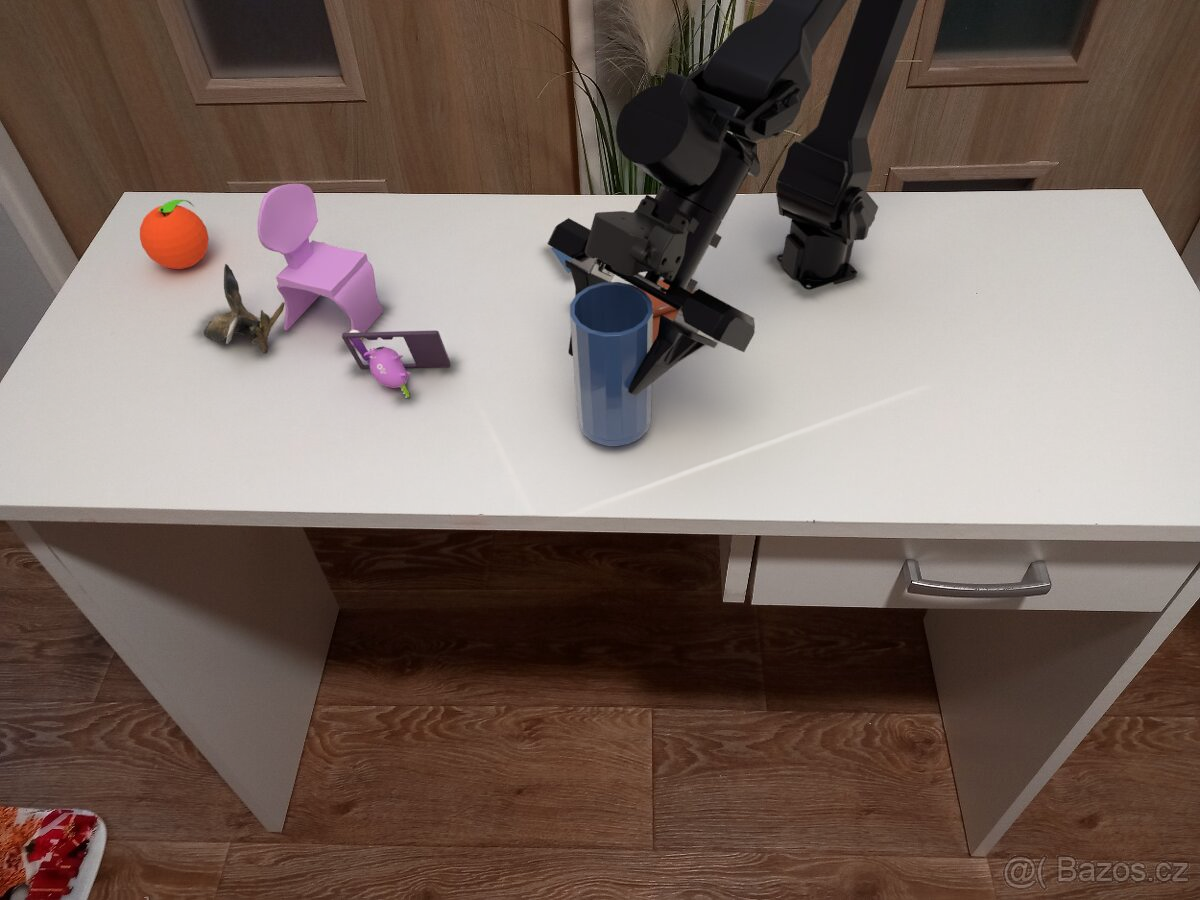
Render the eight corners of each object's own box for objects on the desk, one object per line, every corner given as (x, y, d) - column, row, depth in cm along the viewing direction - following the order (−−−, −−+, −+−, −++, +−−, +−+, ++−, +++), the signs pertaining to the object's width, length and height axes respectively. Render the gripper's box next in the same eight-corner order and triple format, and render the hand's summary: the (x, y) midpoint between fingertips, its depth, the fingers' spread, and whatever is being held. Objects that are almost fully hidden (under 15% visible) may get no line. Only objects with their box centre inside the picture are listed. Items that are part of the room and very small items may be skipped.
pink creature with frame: (438, 323, 84) (342, 325, 84) (435, 373, 82) (337, 375, 82) (451, 357, 90) (361, 359, 90) (448, 404, 88) (357, 406, 88)
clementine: (182, 235, 106) (158, 182, 101) (234, 243, 105) (212, 190, 99) (141, 276, 101) (114, 222, 96) (195, 285, 100) (171, 231, 94)
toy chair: (350, 356, 91) (310, 231, 80) (277, 336, 94) (229, 212, 82) (392, 306, 96) (360, 182, 85) (322, 288, 99) (282, 165, 87)
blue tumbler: (632, 384, 85) (631, 273, 75) (663, 431, 81) (666, 320, 71) (567, 406, 83) (557, 295, 73) (595, 455, 79) (589, 345, 69)
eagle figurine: (307, 314, 94) (246, 272, 96) (267, 293, 87) (203, 248, 89) (266, 375, 94) (207, 331, 96) (223, 359, 87) (160, 312, 89)
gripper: (555, 128, 70) (468, 307, 74) (746, 220, 62) (638, 418, 65) (624, 175, 80) (544, 332, 83) (798, 261, 71) (702, 432, 74)
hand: (601, 374), depth 76 cm, fingers closed on blue tumbler, 6 cm apart
